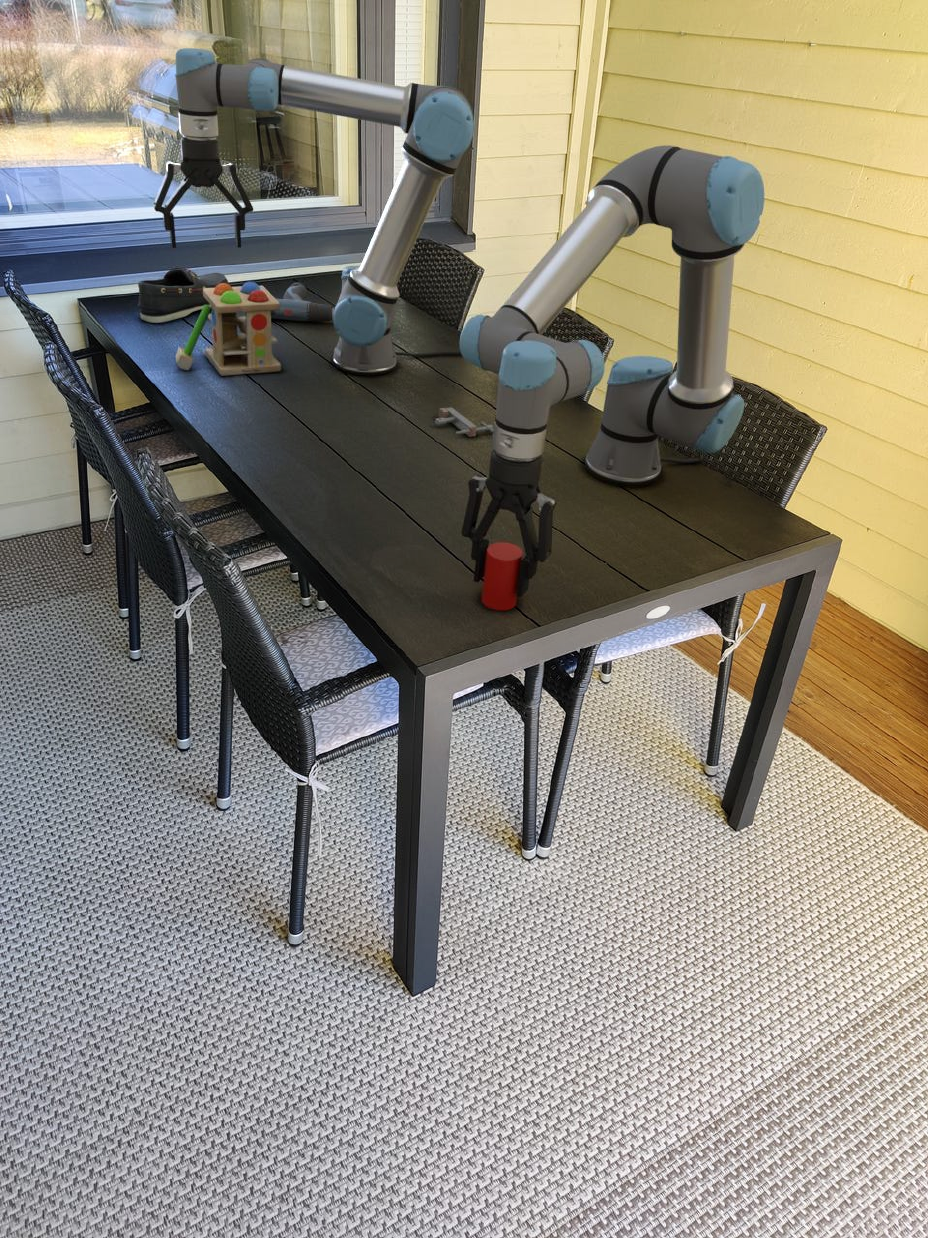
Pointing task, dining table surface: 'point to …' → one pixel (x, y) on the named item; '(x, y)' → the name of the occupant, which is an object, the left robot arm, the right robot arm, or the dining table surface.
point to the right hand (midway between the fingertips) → (500, 585)
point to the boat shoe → (175, 294)
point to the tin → (501, 576)
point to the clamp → (457, 418)
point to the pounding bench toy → (229, 347)
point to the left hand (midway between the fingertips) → (206, 246)
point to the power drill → (301, 307)
